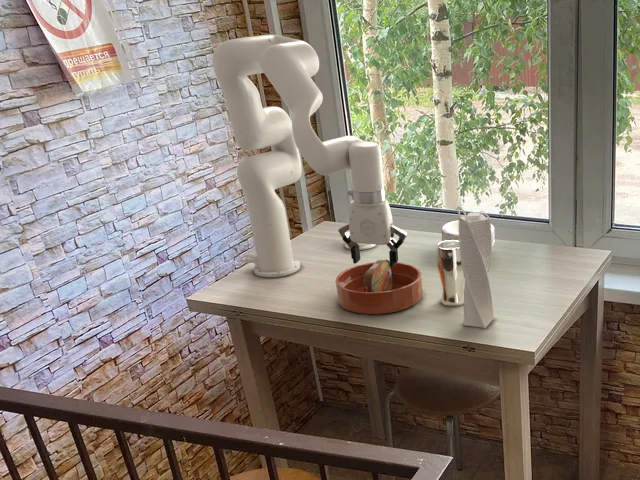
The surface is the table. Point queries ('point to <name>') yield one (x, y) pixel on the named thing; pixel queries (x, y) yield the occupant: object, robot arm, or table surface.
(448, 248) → the chrome tumbler
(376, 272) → the tin
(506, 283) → the table surface
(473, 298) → the skyscraper
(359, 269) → the bowl
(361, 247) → the coaster
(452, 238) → the paper bowls
